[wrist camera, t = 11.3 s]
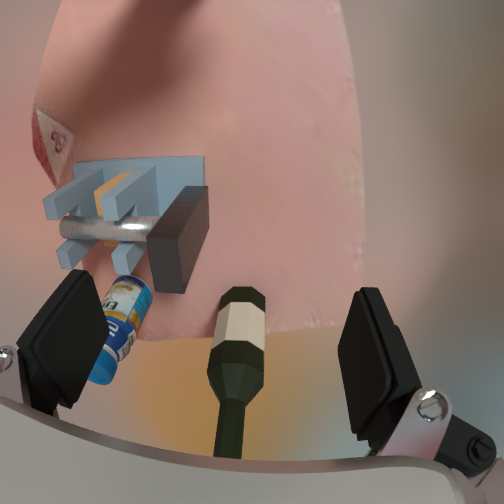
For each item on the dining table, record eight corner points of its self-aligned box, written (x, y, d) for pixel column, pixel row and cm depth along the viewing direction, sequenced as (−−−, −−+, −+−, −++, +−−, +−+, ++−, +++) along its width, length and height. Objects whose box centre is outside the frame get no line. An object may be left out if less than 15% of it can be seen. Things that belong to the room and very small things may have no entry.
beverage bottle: (136, 313, 56) (100, 392, 39) (106, 284, 53) (59, 361, 35) (162, 296, 53) (127, 383, 36) (130, 264, 50) (80, 346, 33)
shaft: (94, 224, 41) (41, 278, 28) (87, 187, 38) (26, 233, 25) (209, 227, 40) (184, 293, 28) (208, 186, 37) (177, 238, 25)
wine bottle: (215, 312, 54) (185, 466, 29) (228, 279, 50) (198, 449, 24) (257, 325, 55) (248, 478, 30) (274, 293, 51) (274, 462, 26)
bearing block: (87, 228, 46) (43, 272, 34) (76, 162, 40) (21, 193, 28) (206, 232, 46) (185, 286, 34) (204, 156, 40) (176, 186, 28)
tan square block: (126, 221, 44) (104, 246, 37) (120, 173, 40) (93, 191, 33) (146, 221, 44) (125, 247, 37) (140, 172, 40) (116, 190, 33)
